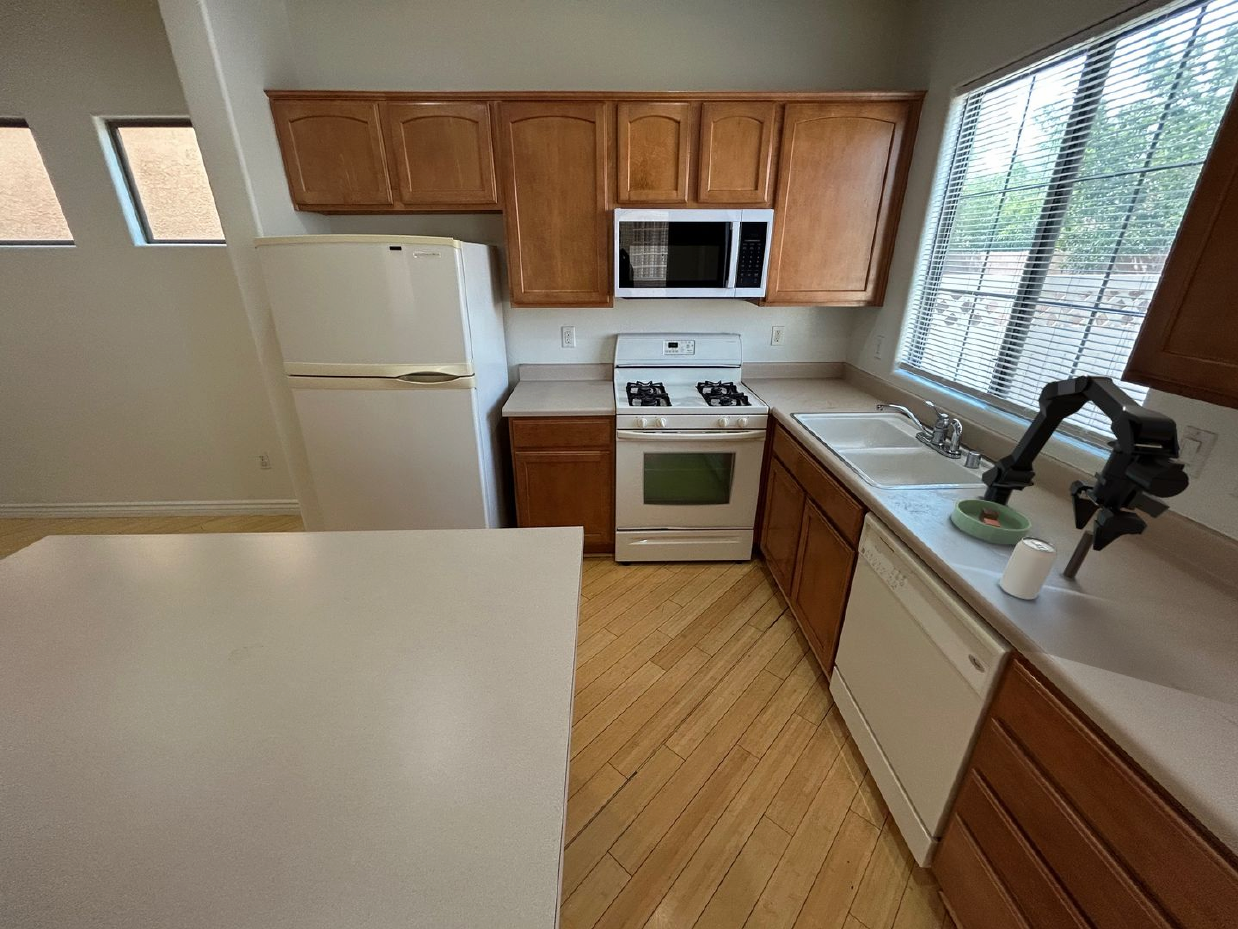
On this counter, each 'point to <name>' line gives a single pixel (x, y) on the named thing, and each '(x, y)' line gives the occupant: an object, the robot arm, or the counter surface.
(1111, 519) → the robot arm
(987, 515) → the walnut block
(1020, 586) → the can
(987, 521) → the terracotta block
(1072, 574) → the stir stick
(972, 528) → the bowl
